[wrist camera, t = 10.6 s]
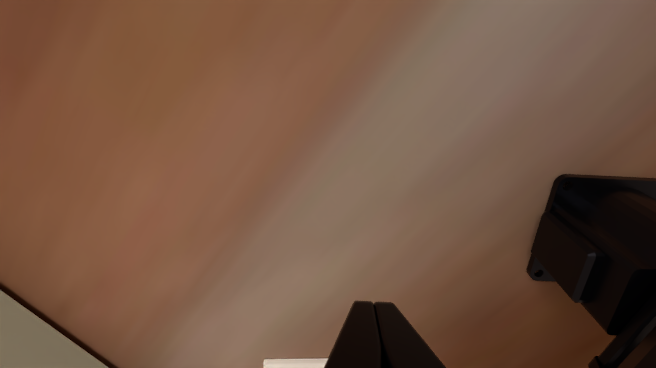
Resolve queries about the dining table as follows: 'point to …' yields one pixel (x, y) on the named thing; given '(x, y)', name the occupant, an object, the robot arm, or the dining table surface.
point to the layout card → (295, 363)
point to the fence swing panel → (36, 341)
